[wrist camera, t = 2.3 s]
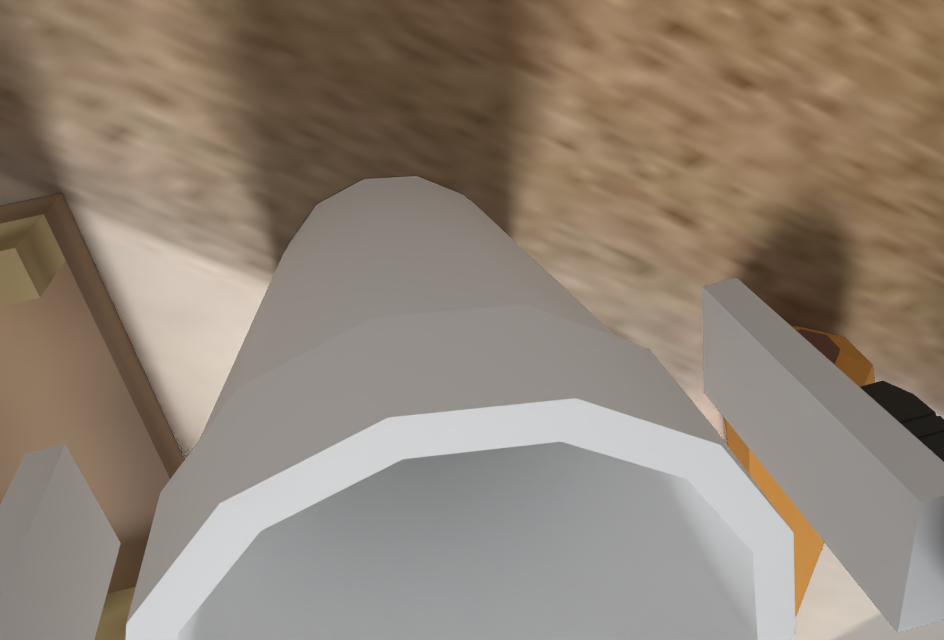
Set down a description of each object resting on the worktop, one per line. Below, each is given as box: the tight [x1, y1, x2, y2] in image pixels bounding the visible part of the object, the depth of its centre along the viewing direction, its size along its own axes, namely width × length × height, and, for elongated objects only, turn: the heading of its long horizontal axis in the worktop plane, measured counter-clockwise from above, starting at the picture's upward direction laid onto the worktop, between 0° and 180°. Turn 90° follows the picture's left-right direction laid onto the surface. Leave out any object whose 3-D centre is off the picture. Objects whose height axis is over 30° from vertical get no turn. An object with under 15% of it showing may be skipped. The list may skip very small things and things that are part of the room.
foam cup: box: [126, 176, 795, 640], centre depth 16 cm, size 10×9×13 cm
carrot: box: [725, 326, 875, 618], centre depth 29 cm, size 20×4×4 cm, turn 9°
